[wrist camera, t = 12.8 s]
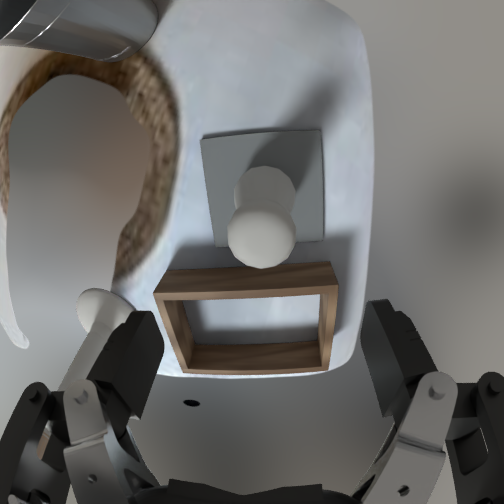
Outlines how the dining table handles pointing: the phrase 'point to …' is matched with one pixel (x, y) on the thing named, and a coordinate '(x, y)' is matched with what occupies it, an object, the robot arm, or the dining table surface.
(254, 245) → the salt shaker
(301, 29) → the dining table surface
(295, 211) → the grey mat
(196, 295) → the frame
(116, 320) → the candlestick
